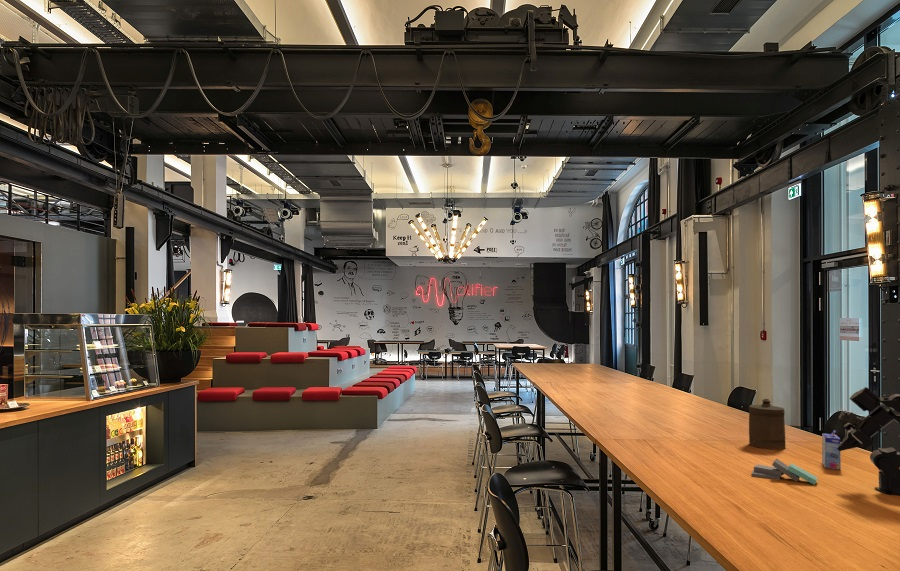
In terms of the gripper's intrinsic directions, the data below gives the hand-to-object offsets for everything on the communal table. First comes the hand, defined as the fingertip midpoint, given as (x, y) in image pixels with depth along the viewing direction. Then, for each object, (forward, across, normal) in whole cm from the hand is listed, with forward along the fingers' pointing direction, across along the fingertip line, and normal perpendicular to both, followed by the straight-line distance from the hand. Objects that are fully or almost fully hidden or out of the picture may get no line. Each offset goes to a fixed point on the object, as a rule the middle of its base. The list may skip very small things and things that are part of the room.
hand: (838, 449), depth 195 cm
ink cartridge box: (+8, -32, +10) cm, 34 cm away
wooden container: (+23, -60, -5) cm, 65 cm away
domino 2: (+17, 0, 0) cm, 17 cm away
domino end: (+22, 0, -4) cm, 22 cm away
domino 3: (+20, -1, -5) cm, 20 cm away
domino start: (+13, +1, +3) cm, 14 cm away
